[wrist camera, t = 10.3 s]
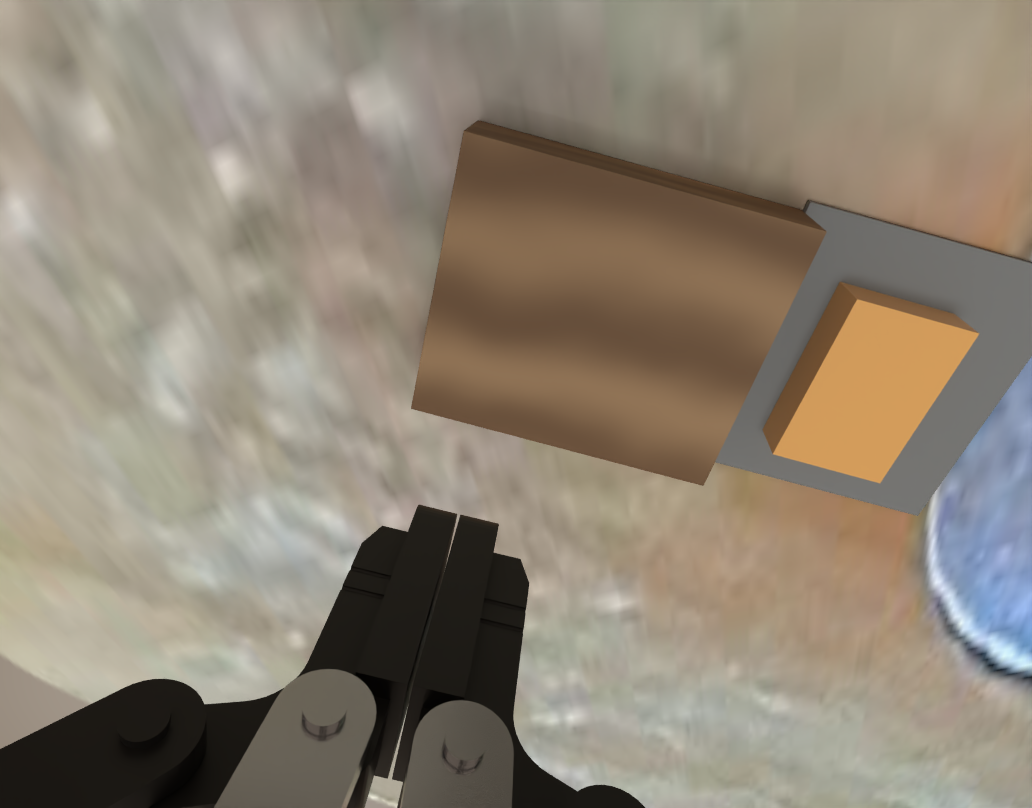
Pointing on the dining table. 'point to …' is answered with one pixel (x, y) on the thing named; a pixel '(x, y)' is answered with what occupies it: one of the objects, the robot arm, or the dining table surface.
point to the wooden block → (604, 302)
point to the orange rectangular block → (865, 382)
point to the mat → (916, 278)
